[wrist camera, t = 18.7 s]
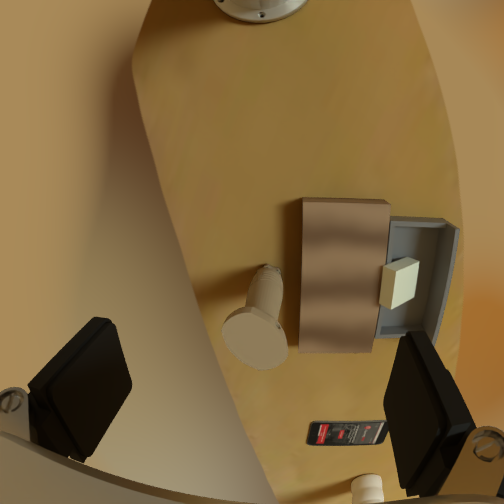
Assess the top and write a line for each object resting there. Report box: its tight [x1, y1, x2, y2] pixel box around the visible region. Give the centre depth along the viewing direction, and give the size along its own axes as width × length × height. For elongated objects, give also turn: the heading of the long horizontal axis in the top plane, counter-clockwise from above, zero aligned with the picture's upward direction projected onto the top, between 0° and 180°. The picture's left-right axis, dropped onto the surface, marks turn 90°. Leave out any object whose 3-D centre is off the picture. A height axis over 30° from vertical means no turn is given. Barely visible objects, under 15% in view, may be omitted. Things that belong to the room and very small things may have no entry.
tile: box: [379, 257, 419, 310], centre depth 37 cm, size 5×5×2 cm
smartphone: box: [307, 420, 389, 446], centre depth 50 cm, size 7×1×15 cm
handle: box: [221, 264, 288, 370], centre depth 35 cm, size 5×6×15 cm
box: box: [374, 216, 460, 346], centre depth 37 cm, size 16×8×5 cm, turn 2°
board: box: [298, 197, 391, 353], centre depth 39 cm, size 20×10×3 cm, turn 2°
